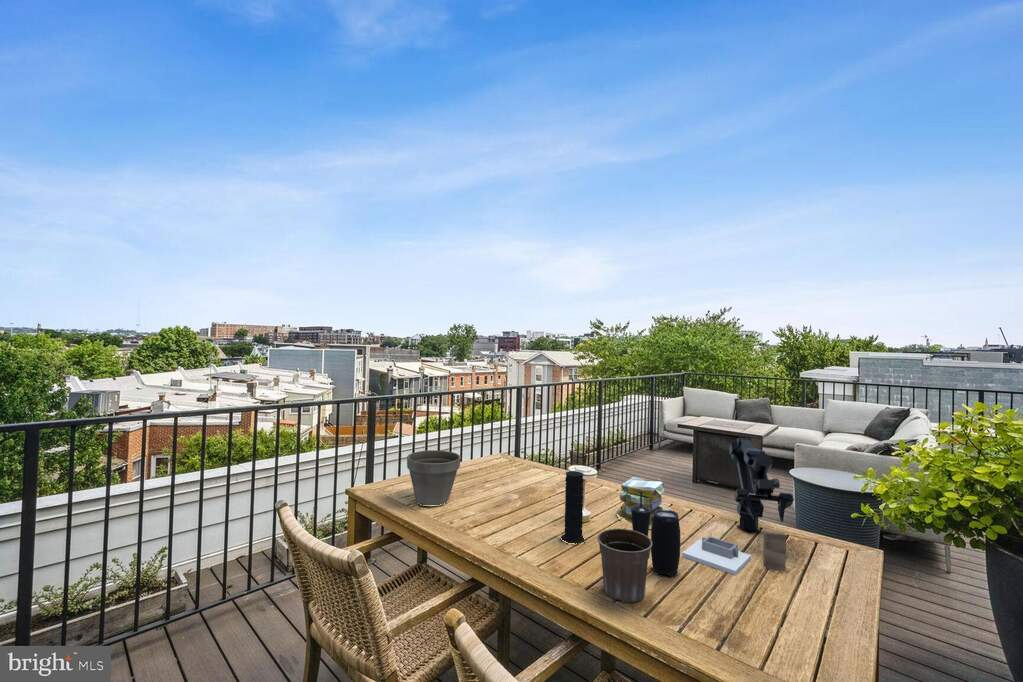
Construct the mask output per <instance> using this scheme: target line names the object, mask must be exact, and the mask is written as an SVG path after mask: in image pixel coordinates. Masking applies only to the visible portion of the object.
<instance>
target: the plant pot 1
mask: <svg viewBox="0 0 1023 682" xmlns="http://www.w3.org/2000/svg"><path fill="white" fill-rule="evenodd" d="M461 459H462V457H461V455H460V454H459V453H456V452H452V451H449V450H437V449H435V450H433V449H432V450H419V451H416V452H415V451H414V452H412V453H410V454H408V455H407V457H406V467H407V469H408V471H409V475H410V480H411V485H412V488H413V494H414V497H415V502H416V501H417V502H416V504H417V503H419V504H421V505H440V504H444V503H446V502H447V501H448V502H449V501H450V497H451V493H452V490H453V487H454V484H455V480H456V476H457V472H458V470H459V469H460V467H461ZM448 502H447V503H448ZM447 503H446V504H447Z"/></svg>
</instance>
